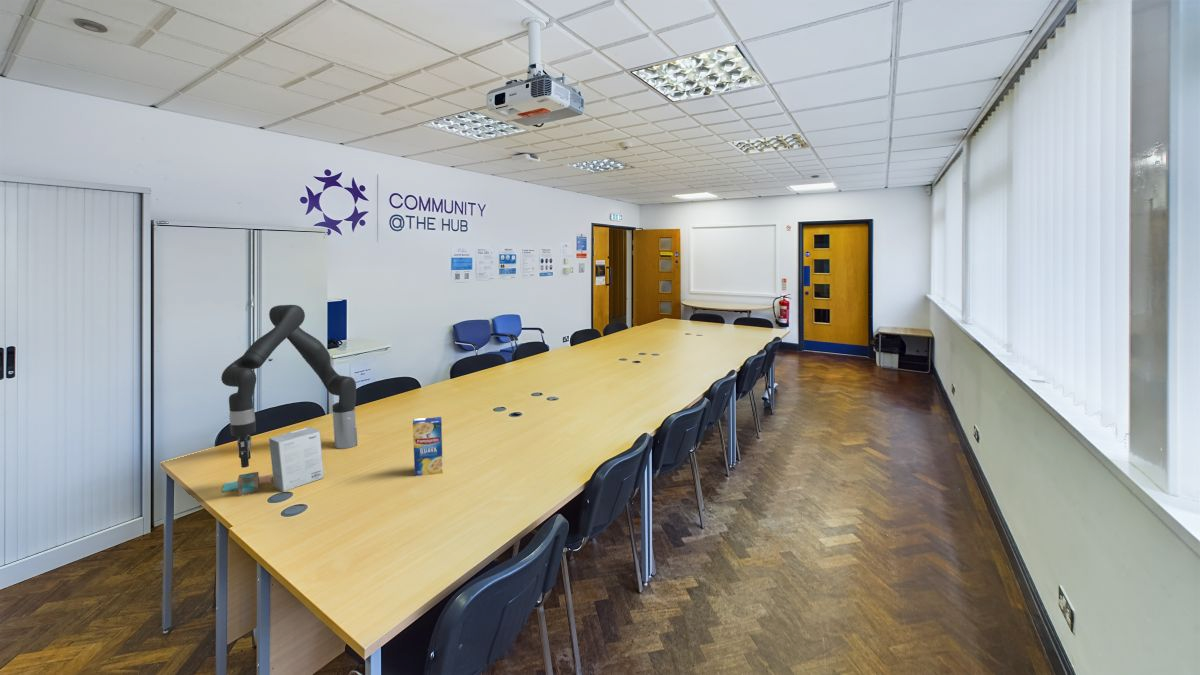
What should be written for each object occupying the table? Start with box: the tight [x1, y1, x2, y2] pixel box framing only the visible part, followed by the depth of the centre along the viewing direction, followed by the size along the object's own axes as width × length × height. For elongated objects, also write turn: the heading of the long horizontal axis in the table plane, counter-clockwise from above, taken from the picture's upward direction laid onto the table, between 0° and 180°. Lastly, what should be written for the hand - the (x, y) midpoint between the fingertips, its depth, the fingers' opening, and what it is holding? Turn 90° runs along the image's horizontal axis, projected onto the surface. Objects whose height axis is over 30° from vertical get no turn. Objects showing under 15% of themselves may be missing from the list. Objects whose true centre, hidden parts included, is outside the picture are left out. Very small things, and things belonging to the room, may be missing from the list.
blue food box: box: [412, 416, 444, 477], centre depth 203 cm, size 7×11×22 cm, turn 107°
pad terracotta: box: [259, 474, 272, 485], centre depth 193 cm, size 7×7×1 cm
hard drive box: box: [268, 426, 325, 492], centre depth 191 cm, size 16×8×20 cm, turn 145°
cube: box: [237, 471, 261, 497], centre depth 184 cm, size 6×6×6 cm
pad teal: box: [221, 480, 238, 493], centre depth 188 cm, size 7×7×1 cm
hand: (246, 462), depth 183 cm, fingers open, 8 cm apart
